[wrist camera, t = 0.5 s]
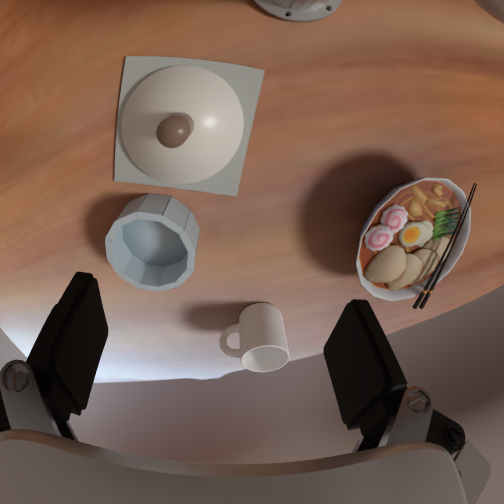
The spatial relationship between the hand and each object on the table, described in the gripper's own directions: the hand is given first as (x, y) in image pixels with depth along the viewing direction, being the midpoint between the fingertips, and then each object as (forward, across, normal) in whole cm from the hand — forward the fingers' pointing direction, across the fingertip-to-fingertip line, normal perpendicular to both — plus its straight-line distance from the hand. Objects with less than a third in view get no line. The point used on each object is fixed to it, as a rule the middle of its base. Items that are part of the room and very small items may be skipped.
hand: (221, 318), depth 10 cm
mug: (+31, -9, +31) cm, 45 cm away
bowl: (+31, +9, +15) cm, 35 cm away
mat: (+30, +6, -2) cm, 31 cm away
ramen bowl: (+31, -30, +7) cm, 44 cm away
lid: (+30, +6, -2) cm, 31 cm away
